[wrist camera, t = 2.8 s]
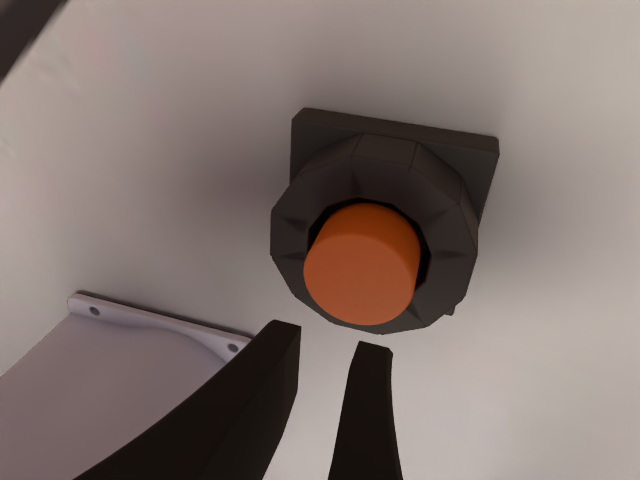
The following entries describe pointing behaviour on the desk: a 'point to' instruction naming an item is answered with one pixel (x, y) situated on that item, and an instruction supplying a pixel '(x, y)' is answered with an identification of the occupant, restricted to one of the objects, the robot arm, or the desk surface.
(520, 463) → the desk surface
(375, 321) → the button
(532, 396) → the desk surface
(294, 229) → the block
